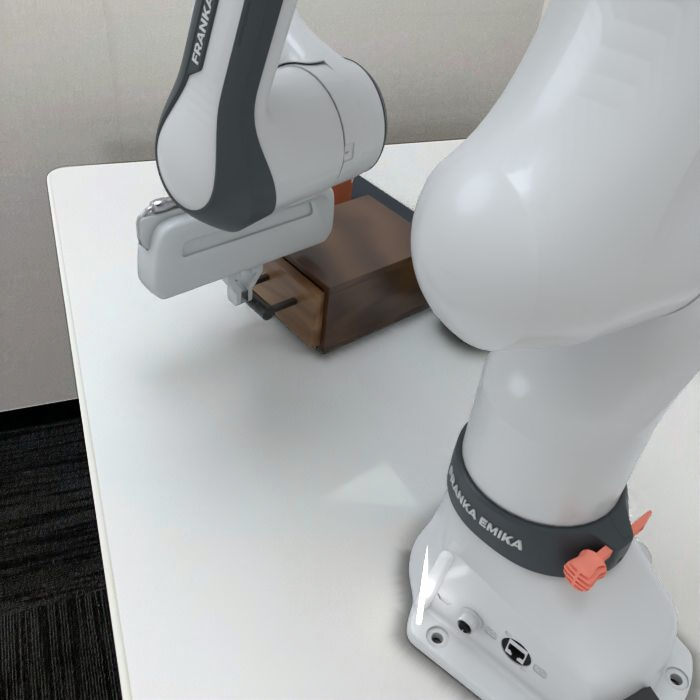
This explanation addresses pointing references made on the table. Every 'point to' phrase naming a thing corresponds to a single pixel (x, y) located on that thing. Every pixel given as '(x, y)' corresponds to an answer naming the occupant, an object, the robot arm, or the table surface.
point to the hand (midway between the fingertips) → (239, 300)
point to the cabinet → (362, 272)
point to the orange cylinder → (343, 191)
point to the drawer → (289, 299)
